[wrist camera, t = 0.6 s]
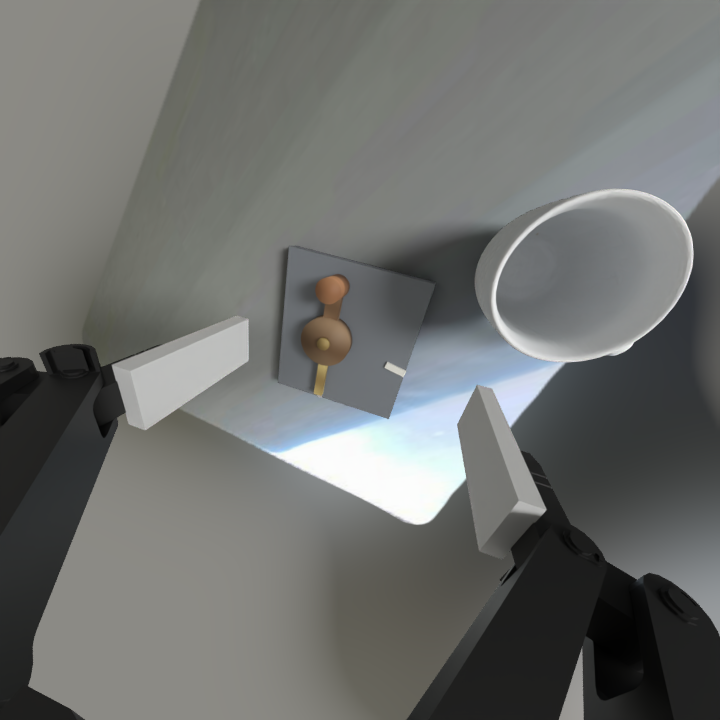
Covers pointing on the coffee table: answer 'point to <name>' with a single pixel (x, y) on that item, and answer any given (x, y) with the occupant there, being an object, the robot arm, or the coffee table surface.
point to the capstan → (327, 329)
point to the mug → (585, 274)
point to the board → (353, 329)
